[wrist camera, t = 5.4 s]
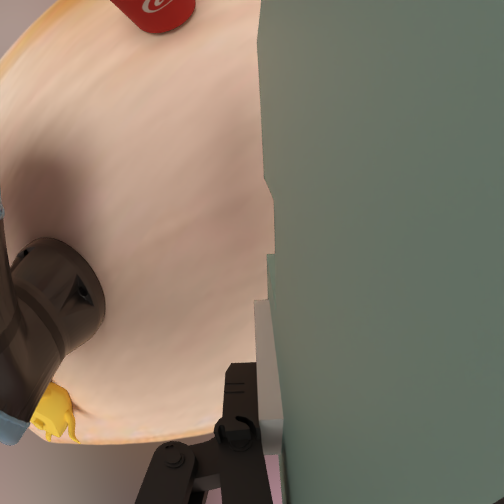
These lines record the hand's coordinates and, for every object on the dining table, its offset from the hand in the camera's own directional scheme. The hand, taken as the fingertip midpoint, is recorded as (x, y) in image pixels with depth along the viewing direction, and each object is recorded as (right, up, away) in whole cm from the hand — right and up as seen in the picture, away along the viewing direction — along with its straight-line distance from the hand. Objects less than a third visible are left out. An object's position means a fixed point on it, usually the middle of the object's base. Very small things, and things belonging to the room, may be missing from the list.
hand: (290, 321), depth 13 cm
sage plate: (0, +5, -1) cm, 5 cm away
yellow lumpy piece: (-44, -26, +27) cm, 58 cm away
